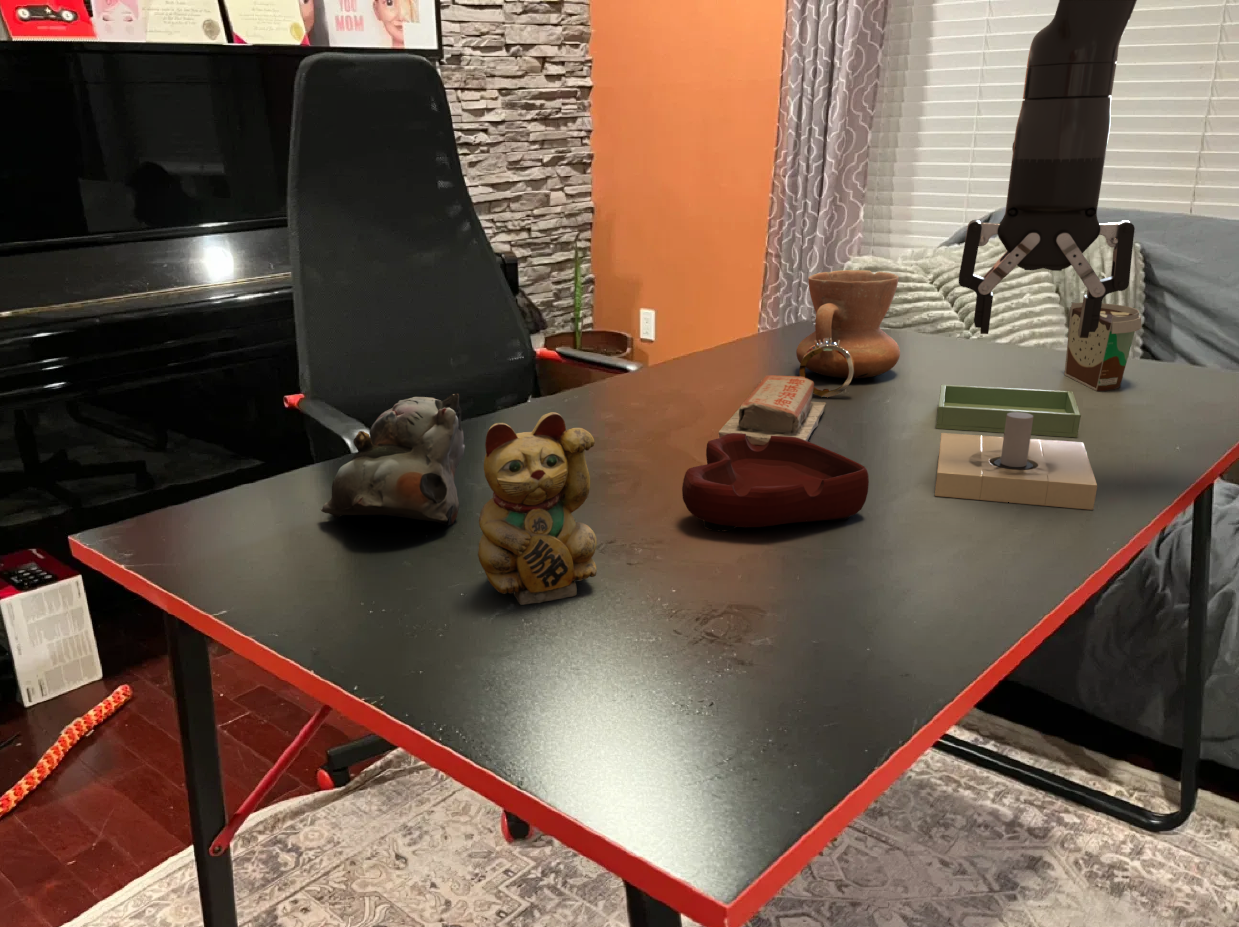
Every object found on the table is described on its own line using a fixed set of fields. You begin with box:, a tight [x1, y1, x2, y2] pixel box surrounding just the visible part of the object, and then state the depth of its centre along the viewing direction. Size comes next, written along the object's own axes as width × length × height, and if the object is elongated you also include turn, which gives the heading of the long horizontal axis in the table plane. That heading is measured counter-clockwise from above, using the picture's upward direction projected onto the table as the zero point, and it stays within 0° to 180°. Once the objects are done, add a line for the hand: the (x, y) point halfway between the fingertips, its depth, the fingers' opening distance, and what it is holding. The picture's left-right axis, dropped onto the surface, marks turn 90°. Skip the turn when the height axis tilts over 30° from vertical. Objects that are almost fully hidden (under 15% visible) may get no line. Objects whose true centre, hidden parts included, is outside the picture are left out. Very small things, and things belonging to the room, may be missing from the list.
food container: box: [1063, 302, 1142, 392], centre depth 137 cm, size 12×6×10 cm, turn 179°
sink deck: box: [934, 432, 1098, 511], centre depth 103 cm, size 14×14×2 cm
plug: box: [994, 412, 1033, 470], centre depth 100 cm, size 4×4×7 cm
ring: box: [799, 337, 855, 398], centre depth 135 cm, size 7×3×8 cm, turn 66°
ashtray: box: [681, 433, 870, 532], centre depth 97 cm, size 18×16×5 cm
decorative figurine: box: [477, 411, 598, 605], centre depth 81 cm, size 10×8×15 cm
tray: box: [935, 384, 1082, 438], centre depth 123 cm, size 15×11×3 cm
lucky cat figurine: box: [319, 393, 466, 526], centre depth 98 cm, size 15×12×14 cm
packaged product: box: [718, 374, 827, 446], centre depth 123 cm, size 18×5×10 cm
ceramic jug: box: [795, 269, 901, 379], centre depth 145 cm, size 18×14×14 cm
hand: (1033, 334), depth 96 cm, fingers open, 8 cm apart
